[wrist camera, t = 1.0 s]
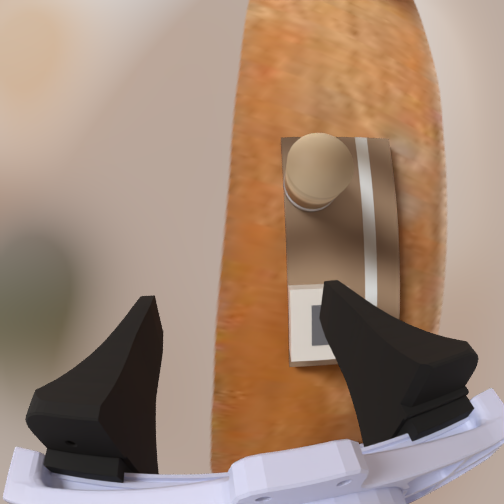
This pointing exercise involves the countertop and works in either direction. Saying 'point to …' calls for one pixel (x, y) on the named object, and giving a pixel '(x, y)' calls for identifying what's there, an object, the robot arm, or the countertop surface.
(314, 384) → the countertop surface
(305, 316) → the block
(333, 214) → the board
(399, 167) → the countertop surface
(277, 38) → the countertop surface
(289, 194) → the tan rounded cylinder
